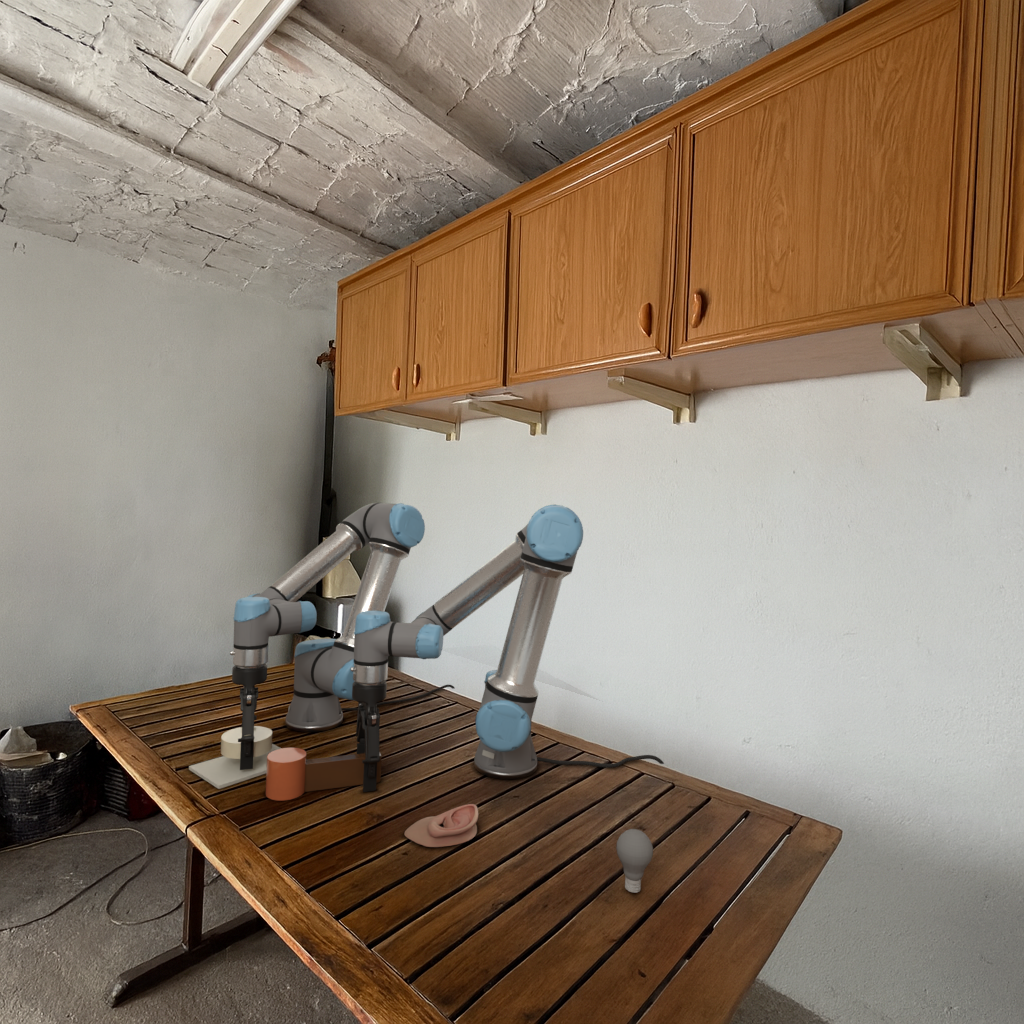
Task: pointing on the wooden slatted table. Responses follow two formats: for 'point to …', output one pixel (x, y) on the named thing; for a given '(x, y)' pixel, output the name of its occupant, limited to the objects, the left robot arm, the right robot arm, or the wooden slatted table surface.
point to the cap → (233, 747)
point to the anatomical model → (445, 827)
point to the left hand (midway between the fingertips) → (246, 758)
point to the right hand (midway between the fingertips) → (365, 780)
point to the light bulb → (634, 857)
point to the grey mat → (230, 770)
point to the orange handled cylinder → (311, 773)
